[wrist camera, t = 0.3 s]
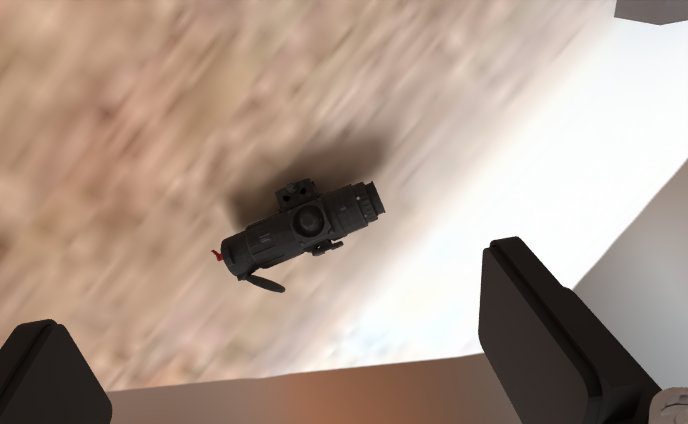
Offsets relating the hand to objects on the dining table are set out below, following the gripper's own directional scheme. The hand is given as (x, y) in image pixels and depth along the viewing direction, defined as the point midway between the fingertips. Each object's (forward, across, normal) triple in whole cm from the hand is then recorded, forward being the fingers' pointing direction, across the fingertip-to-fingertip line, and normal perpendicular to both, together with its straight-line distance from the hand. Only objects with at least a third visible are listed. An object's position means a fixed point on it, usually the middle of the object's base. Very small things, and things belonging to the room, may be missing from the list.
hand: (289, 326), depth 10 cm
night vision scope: (+36, +1, +17) cm, 40 cm away
